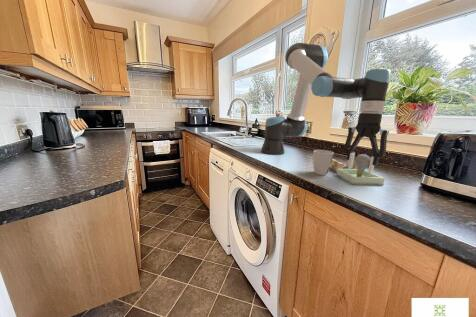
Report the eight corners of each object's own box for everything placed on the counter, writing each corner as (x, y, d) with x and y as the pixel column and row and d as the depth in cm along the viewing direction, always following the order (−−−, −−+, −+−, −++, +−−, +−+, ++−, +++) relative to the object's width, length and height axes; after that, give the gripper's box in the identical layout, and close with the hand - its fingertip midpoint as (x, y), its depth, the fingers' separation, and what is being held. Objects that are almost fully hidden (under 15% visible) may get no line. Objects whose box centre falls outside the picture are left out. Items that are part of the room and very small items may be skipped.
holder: (329, 167, 97) (331, 158, 96) (348, 168, 98) (349, 159, 96) (339, 173, 88) (341, 163, 87) (359, 174, 88) (361, 164, 87)
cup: (332, 177, 83) (336, 154, 81) (312, 175, 84) (315, 152, 82) (327, 171, 91) (331, 150, 88) (309, 170, 92) (312, 149, 90)
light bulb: (354, 179, 78) (359, 155, 76) (349, 174, 83) (354, 152, 81) (369, 180, 77) (375, 156, 75) (363, 176, 82) (368, 153, 80)
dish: (336, 174, 86) (337, 168, 86) (363, 175, 87) (364, 169, 86) (352, 184, 75) (353, 177, 74) (383, 185, 75) (384, 178, 74)
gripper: (339, 112, 80) (331, 165, 85) (399, 113, 64) (385, 178, 70) (348, 112, 84) (340, 163, 90) (406, 113, 69) (392, 175, 74)
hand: (359, 170), depth 80 cm, fingers open, 7 cm apart
